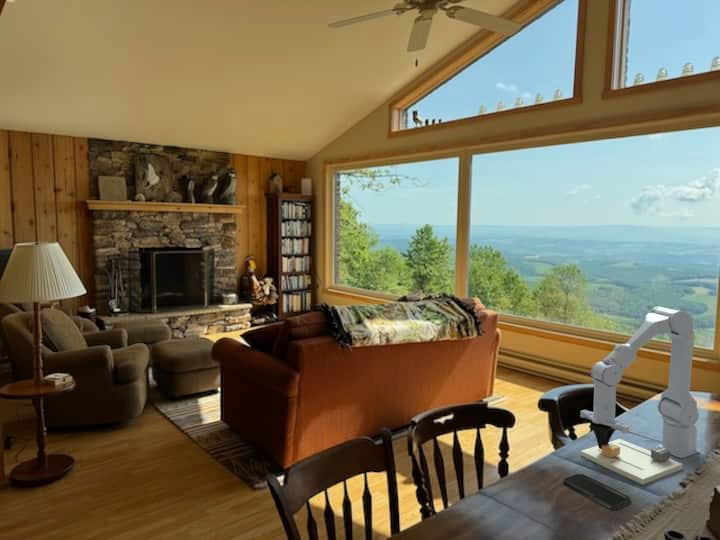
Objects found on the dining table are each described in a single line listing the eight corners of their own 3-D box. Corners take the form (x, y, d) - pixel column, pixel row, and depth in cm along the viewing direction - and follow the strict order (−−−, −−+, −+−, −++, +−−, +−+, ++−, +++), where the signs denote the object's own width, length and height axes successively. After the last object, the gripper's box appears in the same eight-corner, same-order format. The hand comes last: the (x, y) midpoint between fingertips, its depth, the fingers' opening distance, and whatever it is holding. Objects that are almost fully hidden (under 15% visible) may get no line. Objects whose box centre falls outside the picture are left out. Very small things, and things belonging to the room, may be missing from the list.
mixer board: (619, 443, 156) (619, 438, 156) (682, 469, 139) (682, 463, 139) (580, 455, 147) (580, 450, 147) (642, 484, 131) (642, 479, 131)
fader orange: (610, 450, 146) (610, 442, 146) (619, 454, 144) (620, 446, 144) (601, 453, 145) (601, 445, 144) (610, 457, 142) (611, 449, 142)
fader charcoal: (659, 454, 144) (659, 446, 144) (669, 459, 141) (670, 450, 141) (650, 457, 142) (651, 449, 142) (661, 462, 139) (661, 453, 139)
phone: (580, 472, 136) (633, 498, 123) (580, 476, 136) (632, 503, 123) (560, 479, 132) (612, 507, 119) (560, 483, 132) (612, 511, 119)
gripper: (574, 398, 150) (572, 441, 151) (618, 414, 137) (616, 461, 138) (589, 394, 153) (588, 437, 154) (634, 409, 140) (632, 456, 141)
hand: (602, 448), depth 146 cm, fingers closed
